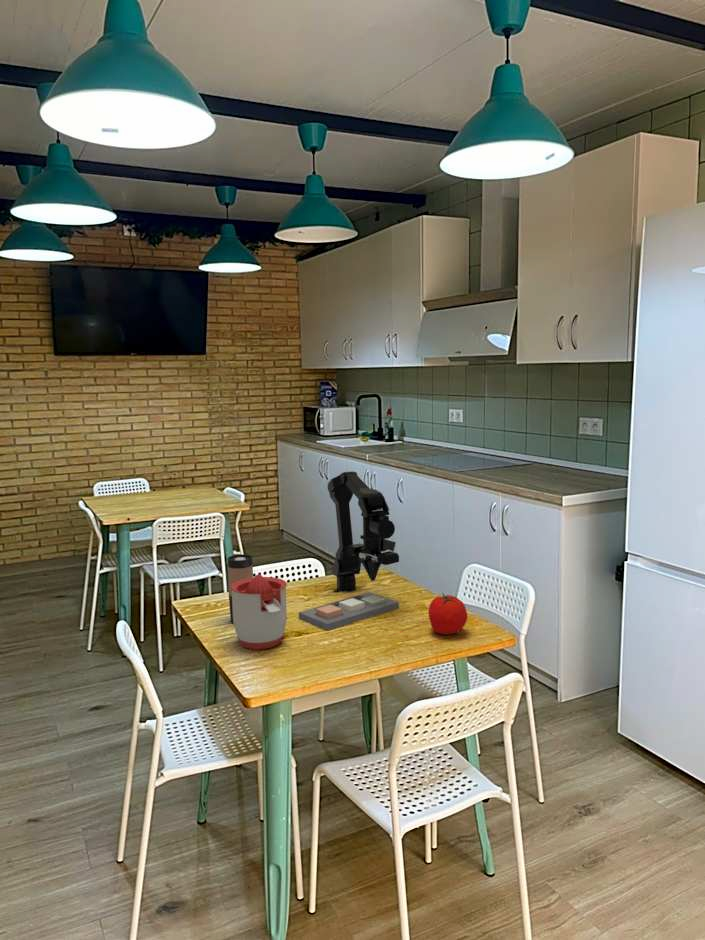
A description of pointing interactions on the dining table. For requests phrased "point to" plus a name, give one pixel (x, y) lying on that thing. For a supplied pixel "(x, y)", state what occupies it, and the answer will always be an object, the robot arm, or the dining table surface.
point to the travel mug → (238, 573)
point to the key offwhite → (351, 605)
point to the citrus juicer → (259, 611)
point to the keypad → (348, 613)
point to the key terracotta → (329, 612)
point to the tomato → (447, 614)
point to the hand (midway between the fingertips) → (372, 580)
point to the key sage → (373, 600)
